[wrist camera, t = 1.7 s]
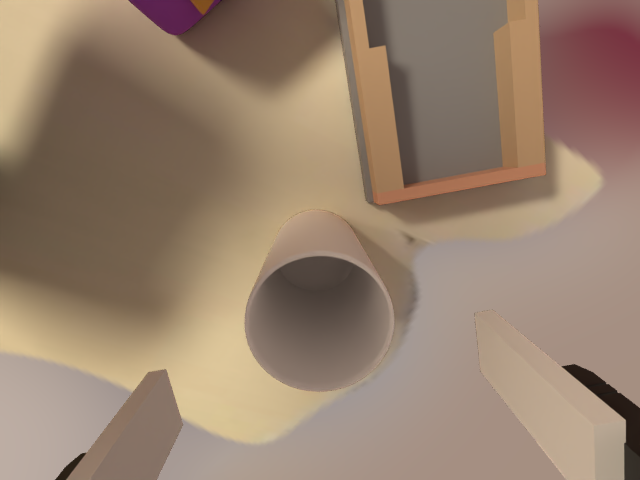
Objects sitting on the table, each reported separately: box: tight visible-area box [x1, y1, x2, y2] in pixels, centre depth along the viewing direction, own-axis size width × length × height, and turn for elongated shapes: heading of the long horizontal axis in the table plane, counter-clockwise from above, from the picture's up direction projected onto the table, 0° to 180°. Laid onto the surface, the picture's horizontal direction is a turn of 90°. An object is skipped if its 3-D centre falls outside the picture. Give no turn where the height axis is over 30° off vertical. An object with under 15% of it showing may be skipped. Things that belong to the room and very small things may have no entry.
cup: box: [245, 210, 395, 392], centre depth 28 cm, size 8×8×16 cm
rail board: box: [335, 0, 546, 205], centre depth 30 cm, size 15×24×4 cm, turn 10°
